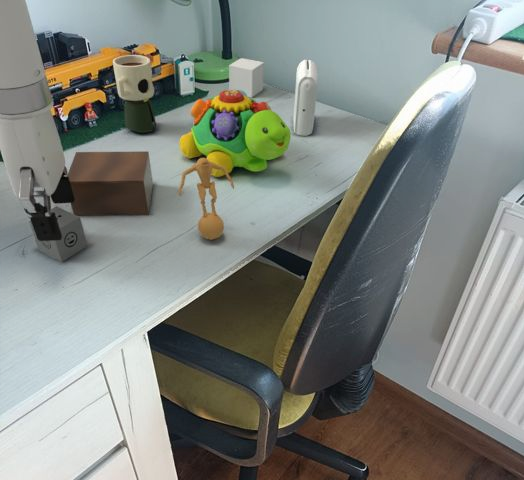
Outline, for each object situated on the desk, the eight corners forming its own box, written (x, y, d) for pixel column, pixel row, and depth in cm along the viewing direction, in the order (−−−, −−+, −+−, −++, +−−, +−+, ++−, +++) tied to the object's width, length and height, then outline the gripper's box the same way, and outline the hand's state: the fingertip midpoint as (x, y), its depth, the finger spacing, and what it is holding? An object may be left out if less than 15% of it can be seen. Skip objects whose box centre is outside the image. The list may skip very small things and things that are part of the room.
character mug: (144, 142, 102) (134, 72, 93) (112, 136, 104) (99, 66, 94) (168, 121, 110) (161, 54, 100) (138, 116, 111) (129, 49, 102)
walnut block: (74, 215, 83) (64, 181, 79) (84, 185, 90) (75, 151, 86) (148, 214, 84) (143, 180, 80) (153, 184, 91) (148, 151, 87)
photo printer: (313, 137, 106) (319, 72, 97) (292, 136, 106) (297, 71, 97) (312, 116, 113) (318, 54, 104) (293, 115, 113) (297, 53, 104)
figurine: (188, 248, 78) (181, 174, 69) (180, 227, 82) (172, 154, 73) (240, 240, 80) (240, 167, 71) (230, 220, 84) (228, 148, 75)
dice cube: (38, 250, 77) (28, 221, 73) (64, 235, 80) (56, 206, 76) (61, 262, 75) (52, 232, 71) (87, 246, 78) (80, 217, 74)
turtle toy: (243, 201, 88) (243, 133, 79) (170, 151, 100) (163, 87, 92) (315, 172, 96) (322, 107, 87) (238, 129, 108) (238, 68, 99)
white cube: (263, 89, 124) (264, 62, 120) (251, 97, 120) (252, 70, 116) (241, 84, 126) (241, 57, 121) (229, 92, 122) (228, 65, 117)
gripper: (5, 70, 67) (44, 190, 79) (-39, 125, 55) (15, 256, 67) (63, 69, 68) (93, 189, 80) (32, 123, 56) (73, 254, 68)
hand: (57, 220), depth 74 cm, fingers open, 9 cm apart
